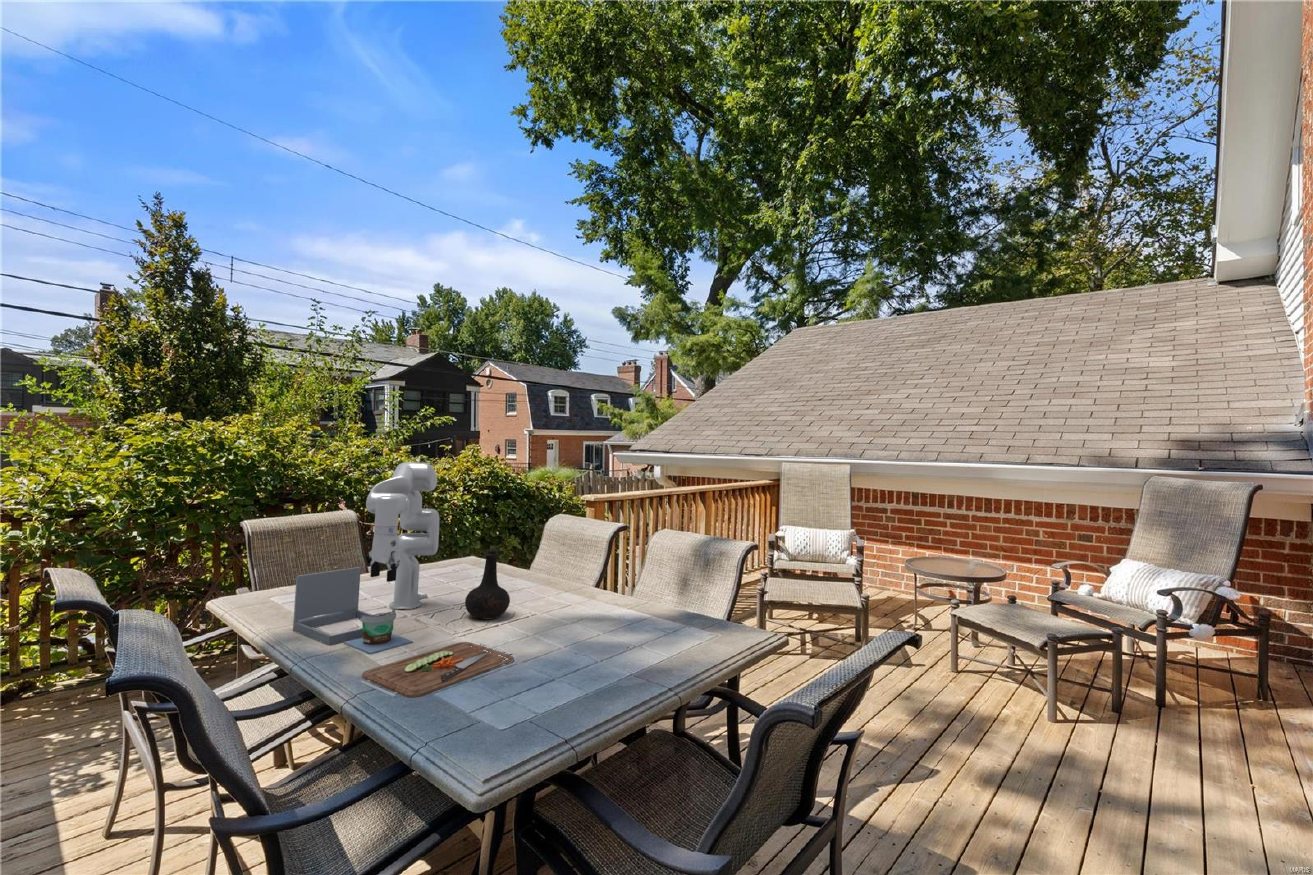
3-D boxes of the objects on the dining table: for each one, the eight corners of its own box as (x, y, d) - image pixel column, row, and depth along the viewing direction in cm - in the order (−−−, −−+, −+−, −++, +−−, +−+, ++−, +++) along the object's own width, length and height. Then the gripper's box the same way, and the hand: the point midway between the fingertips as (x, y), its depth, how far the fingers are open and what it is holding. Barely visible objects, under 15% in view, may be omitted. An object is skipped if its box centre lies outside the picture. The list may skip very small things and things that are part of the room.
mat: (386, 633, 217) (386, 631, 217) (412, 642, 208) (412, 641, 208) (343, 643, 204) (343, 642, 204) (370, 654, 195) (370, 652, 195)
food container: (368, 648, 199) (370, 619, 199) (358, 644, 202) (360, 615, 203) (401, 640, 209) (403, 612, 209) (392, 636, 212) (394, 608, 213)
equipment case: (356, 616, 235) (359, 566, 236) (393, 629, 222) (396, 576, 222) (292, 630, 215) (296, 575, 215) (329, 645, 201) (333, 587, 202)
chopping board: (470, 642, 213) (470, 634, 213) (523, 659, 199) (523, 650, 199) (350, 679, 175) (350, 669, 175) (404, 704, 161) (405, 692, 161)
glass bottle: (455, 619, 238) (459, 550, 239) (480, 608, 256) (484, 544, 256) (493, 625, 233) (497, 555, 234) (516, 614, 250) (520, 548, 251)
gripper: (410, 532, 206) (407, 581, 205) (381, 526, 215) (378, 573, 215) (390, 534, 199) (387, 585, 199) (361, 528, 209) (359, 576, 208)
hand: (383, 578), depth 207 cm, fingers open, 9 cm apart
